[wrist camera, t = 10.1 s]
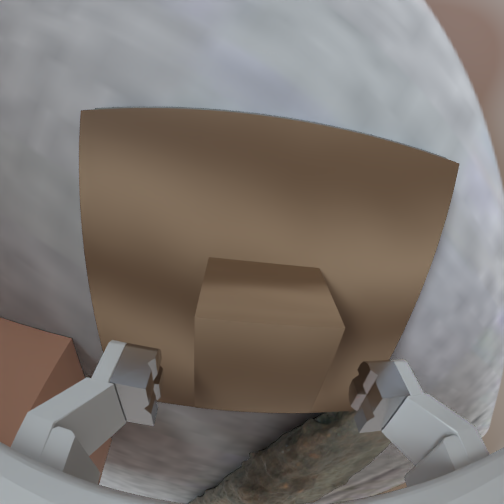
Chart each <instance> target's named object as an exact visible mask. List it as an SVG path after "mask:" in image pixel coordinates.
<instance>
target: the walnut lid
mask: <svg viewBox="0 0 504 504" xmlns="http://www.w3.org/2000/svg"><path fill="white" fill-rule="evenodd" d="M458 168H459V163H456V162H453V161H451V160H448V159H445V158H442V157H439V156H437V155H434V154H431V153H428V152H425V151H422V150H418V149H415V148H412V147H409V146H405V145H402V144H399V143H395V142H392V141H388V140H384V139H381V138H377V137H373V136H369V135H365V134H361V133H357V132H352V131H348V130H344V129H339V128H334V127H330V126H325V125H319V124H314V123H309V122H303V121H297V120H291V119H285V118H278V117H271V116H263V115H255V114H247V113H237V112H227V111H215V110H200V109H178V108H118V109H97V110H83V111H81V116H80V136H79V189H80V209H81V223H82V234H83V244H84V253H85V261H86V268H87V275H88V281H89V288H90V293H91V299H92V304H93V310H94V315H95V319H96V324H97V329H98V333H99V337H100V342H101V346H102V350H103V353H104V351H105V349H106V347H107V345H108V343H109V342H110V341H111V340H115V341H120V342H125V343H131V344H136V345H141V346H146V347H152V348H157V349H160V350H161V355H162V360H161V363H160V366H161V367H162V368H163V374H164V381H163V389H162V394H161V397H160V398H159V399H158V400H157V402H163V403H170V404H176V405H183V406H191V407H197V408H206V409H216V410H227V411H241V412H260V413H317V412H339V411H353V410H355V409H353V408H352V407H351V406H350V402H349V395H348V393H349V386H350V384H351V382H352V379H354V378H355V377H356V376H358V375H359V373H358V370H357V369H358V367H359V365H360V364H361V363H362V362H363V361H380V360H389V359H390V357H391V355H392V353H393V351H394V349H395V347H396V345H397V343H398V341H399V339H400V337H401V335H402V333H403V331H404V329H405V327H406V325H407V322H408V320H409V318H410V316H411V313H412V311H413V309H414V307H415V304H416V302H417V299H418V297H419V295H420V292H421V290H422V287H423V285H424V282H425V280H426V277H427V274H428V272H429V269H430V266H431V263H432V261H433V258H434V255H435V252H436V249H437V246H438V243H439V240H440V237H441V234H442V230H443V227H444V224H445V220H446V217H447V213H448V210H449V206H450V202H451V198H452V194H453V190H454V186H455V182H456V177H457V173H458Z"/></svg>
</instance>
